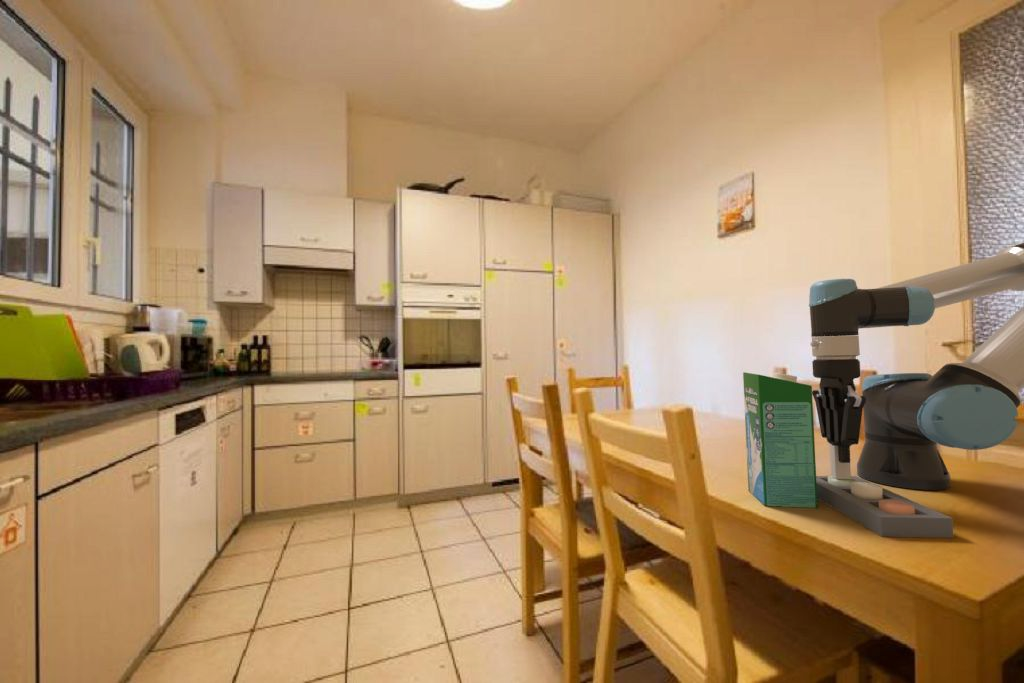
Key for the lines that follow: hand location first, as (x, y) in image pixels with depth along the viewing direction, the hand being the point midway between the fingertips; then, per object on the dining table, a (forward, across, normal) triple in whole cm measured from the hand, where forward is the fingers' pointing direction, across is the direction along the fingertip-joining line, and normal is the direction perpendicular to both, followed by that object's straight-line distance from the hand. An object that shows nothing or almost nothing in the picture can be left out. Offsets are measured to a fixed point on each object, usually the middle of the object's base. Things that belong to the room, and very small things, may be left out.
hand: (840, 477), depth 84 cm
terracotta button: (+3, +14, 0) cm, 14 cm away
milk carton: (+4, +1, -12) cm, 13 cm away
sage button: (+3, 0, 0) cm, 3 cm away
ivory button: (+2, +7, 0) cm, 7 cm away
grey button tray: (+4, +7, 0) cm, 8 cm away
